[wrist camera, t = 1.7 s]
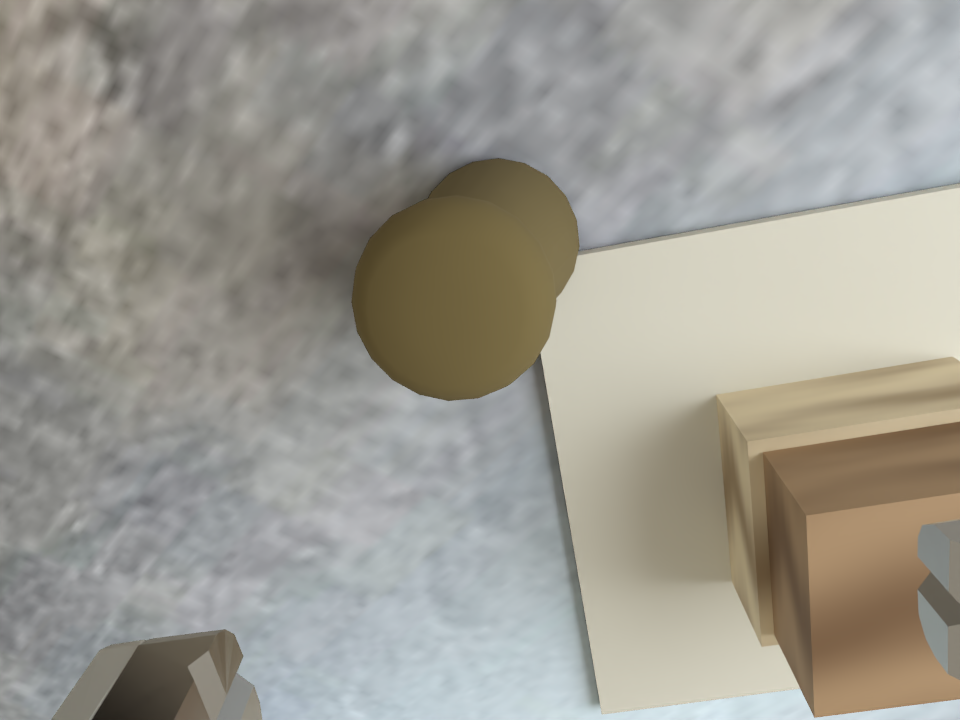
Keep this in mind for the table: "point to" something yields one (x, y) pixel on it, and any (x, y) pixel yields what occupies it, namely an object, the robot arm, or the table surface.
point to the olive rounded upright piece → (467, 280)
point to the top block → (859, 564)
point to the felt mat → (693, 411)
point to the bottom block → (805, 421)
